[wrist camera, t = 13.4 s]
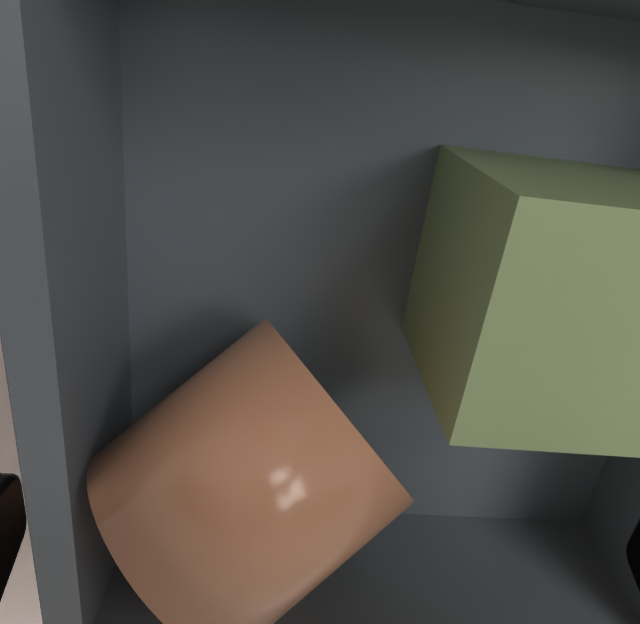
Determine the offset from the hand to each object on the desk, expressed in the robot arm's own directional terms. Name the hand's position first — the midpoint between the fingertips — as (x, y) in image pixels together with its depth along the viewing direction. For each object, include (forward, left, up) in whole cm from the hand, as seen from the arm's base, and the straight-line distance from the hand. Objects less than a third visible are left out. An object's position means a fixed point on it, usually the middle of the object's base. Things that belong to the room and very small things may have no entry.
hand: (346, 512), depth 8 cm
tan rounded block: (0, 0, -3) cm, 3 cm away
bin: (-2, -1, -6) cm, 6 cm away
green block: (-4, -2, -5) cm, 7 cm away
